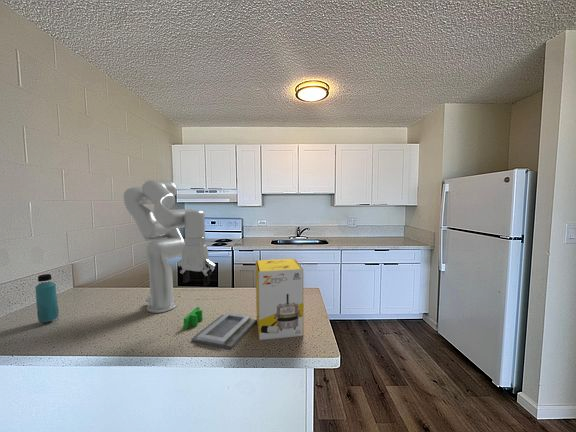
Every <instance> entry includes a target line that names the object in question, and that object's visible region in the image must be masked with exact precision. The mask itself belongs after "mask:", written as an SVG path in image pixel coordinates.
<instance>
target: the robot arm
mask: <svg viewBox="0 0 576 432" xmlns="http://www.w3.org/2000/svg"><path fill="white" fill-rule="evenodd" d="M177 190H178V189H177V186H176V184H175V183H174V182H172V181H171V180H162V179H150V180H146V181H145V182H144V183H143V184H142V186H133V187H129V188H127V189H125V191H124V193H123V202H124V206H125V209H126V210H127V211H128V213H129V214H130V216H132V218H133V220H134V221H135V224H136V226H137V228H138V230H139V232H140V234H141V237H142V238H143V240H144V241H146V242H148V243H147V244H146V246H145V255H146V258H147V265H148V272H149V277H148V278H149V292H150V293H149V295H148V296H147V298H146V299H145V303H148V305H147V307H146V310H147V311H148V312H149V313H153V314H159V313H165V312H168V311H171V310H173V309H175V308H176V307H177V306H178V301H176V300H175V299H174V282H173V268H172V266H171V265H170V263H168V261H167V260H171V259H176V258H180V257H181V259H179V260H178V261H177V262H176V264H177V266H178V269H179V270H180V272H181V274H182V283H183V284H187V283H189V282H190V279H191V278H190V271H191V272H202V273H203V277H202V279H203V286H204V287H207V286H208V285H210V283H211V274H212V273H213V272H214V270H215V267H216V264H215V263H214V262H212V261H211V260H210V258H209V252H208V246H207V244H206V227H205V226H206V224H205V223H206V221H205V220H206V219H205V212H204V210H199V209H196V210H194V209H191V208H184V209H183V208H181V209H178V208H177V209H171V208H172V207H173V206H174V205H175V203H176V197H175V196H176V195H177V194H178V193H177V192H178V191H177ZM145 205H153V211H152V210H151V209H150V208H149V207H146V206H145ZM181 228H184V238H183V235H182V234H181V232H180V229H181Z"/></svg>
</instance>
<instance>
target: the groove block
mask: <svg viewBox="0 0 576 432" xmlns="http://www.w3.org/2000/svg"><path fill="white" fill-rule="evenodd" d="M255 324H257V319H254V318H253V319H252V316H251V315H245V314H238V313H232V312H226V313H225V314H221V315H220V316H219V317H218V318H216V319H214V320H213V321H212V322H210V323H209V324H208V325H207V326H206V327H204V328H203V329H202V330H200V331H199V332H197V333H196V334H195V335H194V336H193V337H191V339H190V340H191V342H193V343H197V344H198V343H199V344H204V345H208V346H214V347H219V348H223V349H228V350H232V349H233V348H234V347H235V345H236V344H238V342H239V341H240V340H242V338H243V337H244V336H245V335H246V334H247V333H248V332H249V331H250V330H251V329H252V328H253V326H254V325H255Z"/></svg>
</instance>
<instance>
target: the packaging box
mask: <svg viewBox="0 0 576 432" xmlns="http://www.w3.org/2000/svg"><path fill="white" fill-rule="evenodd" d="M255 295H256V296H255V299H256V303H255V305H256V321H257V322H256V324H257V326H256V327H257V334H258V340H259V341H263V340H264V341H265V340H275V339H283V338H284V339H285V338H295V337H303V336H304V268H303V267H302V266H301V264H299V262H298V261H297V259H296V258H285V259H284V258H282V259H281V258H280V259H279V258H277V259H262V260H261V259H260V260H255Z"/></svg>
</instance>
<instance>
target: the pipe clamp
mask: <svg viewBox="0 0 576 432" xmlns="http://www.w3.org/2000/svg"><path fill="white" fill-rule="evenodd" d="M202 321H203V310H202V309H201V308H200V306H196V307H195V308H193V310H191V311H190V312H189V313H188V314H187V315H186V316H185V317H184V318H183V330H186V331H188V329H189V328H190V327H198V322H202Z"/></svg>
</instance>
